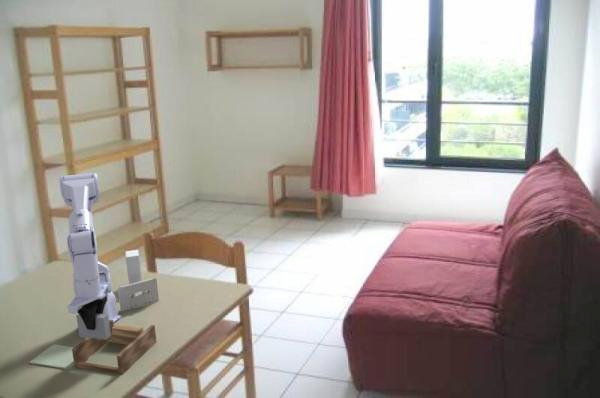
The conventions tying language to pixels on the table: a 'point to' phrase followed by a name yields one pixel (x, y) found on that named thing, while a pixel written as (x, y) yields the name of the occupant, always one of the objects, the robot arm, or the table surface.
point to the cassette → (140, 299)
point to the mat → (55, 357)
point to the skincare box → (133, 266)
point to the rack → (123, 358)
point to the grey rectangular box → (100, 330)
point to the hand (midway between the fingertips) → (94, 326)
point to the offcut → (125, 333)
